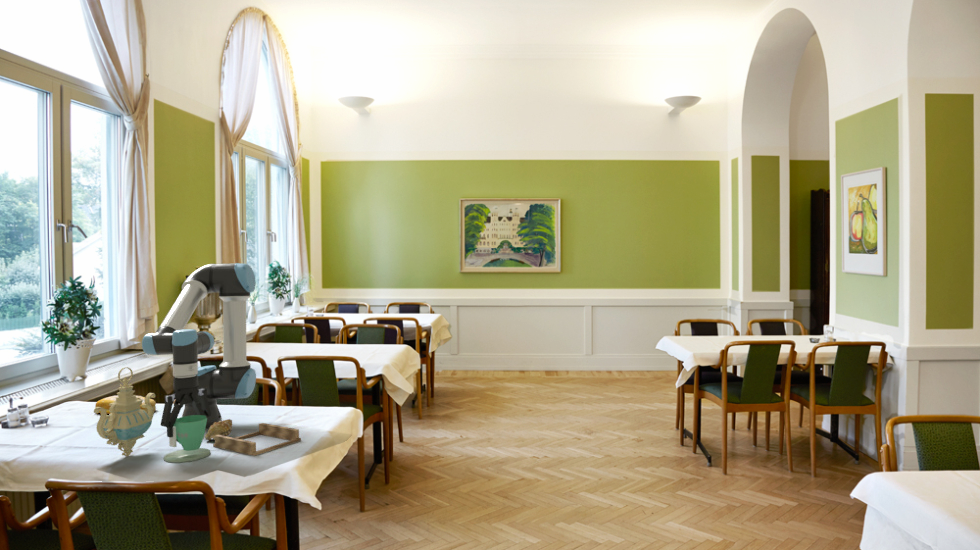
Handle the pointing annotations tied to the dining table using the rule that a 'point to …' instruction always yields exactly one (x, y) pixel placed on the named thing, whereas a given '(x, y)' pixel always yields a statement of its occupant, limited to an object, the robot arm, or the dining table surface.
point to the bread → (106, 401)
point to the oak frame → (250, 447)
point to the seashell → (219, 429)
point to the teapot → (125, 418)
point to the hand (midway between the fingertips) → (187, 442)
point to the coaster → (186, 455)
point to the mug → (190, 431)
